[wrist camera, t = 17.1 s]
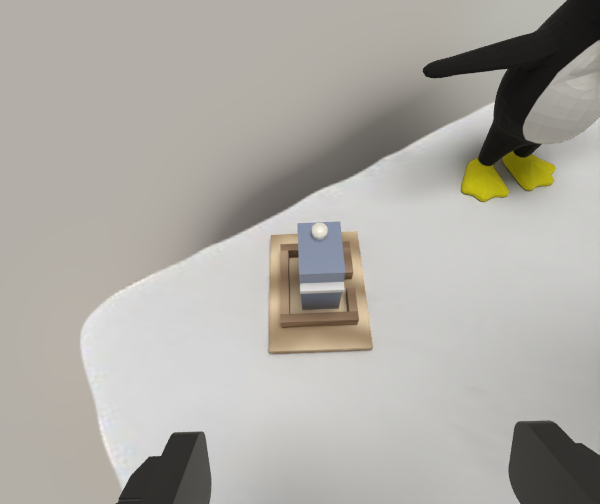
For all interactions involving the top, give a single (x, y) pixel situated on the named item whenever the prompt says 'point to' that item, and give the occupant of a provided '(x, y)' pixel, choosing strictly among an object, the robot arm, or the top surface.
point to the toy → (534, 95)
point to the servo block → (321, 265)
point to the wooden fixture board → (320, 322)
